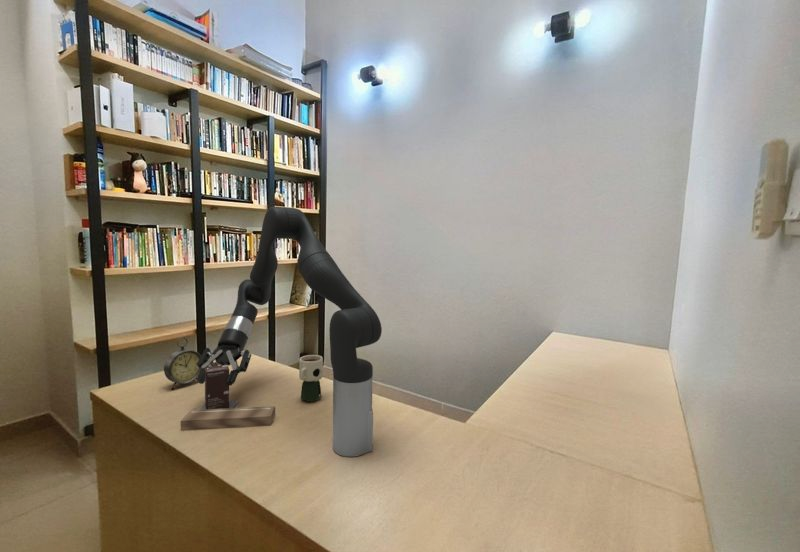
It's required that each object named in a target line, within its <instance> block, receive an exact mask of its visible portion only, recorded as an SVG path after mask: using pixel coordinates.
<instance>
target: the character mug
mask: <svg viewBox="0 0 800 552" xmlns="http://www.w3.org/2000/svg"><path fill="white" fill-rule="evenodd" d="M298 359H299V364H298V367H299V369H298V371H299V372H298V373H299V375H298V377H299V380H300V381H303V382H302V383H301V390H300V399H302V400H303V401H307V402H315V401H318V400H320V397H322V389H321V388H322V387H321V382H320V380H322V379H323V377H324V371H323V367H324V359H323V356H321V355H319V354H307V355H303V356H300V357H299V358H298Z"/></svg>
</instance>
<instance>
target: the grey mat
mask: <svg viewBox="0 0 800 552" xmlns="http://www.w3.org/2000/svg"><path fill="white" fill-rule="evenodd" d="M238 402H239V401H238V400H229V408H236V406H237V404H238ZM204 409H205V403H204V404H203V405H202V406H201V407H200V408H199V409H198V410H204Z"/></svg>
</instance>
